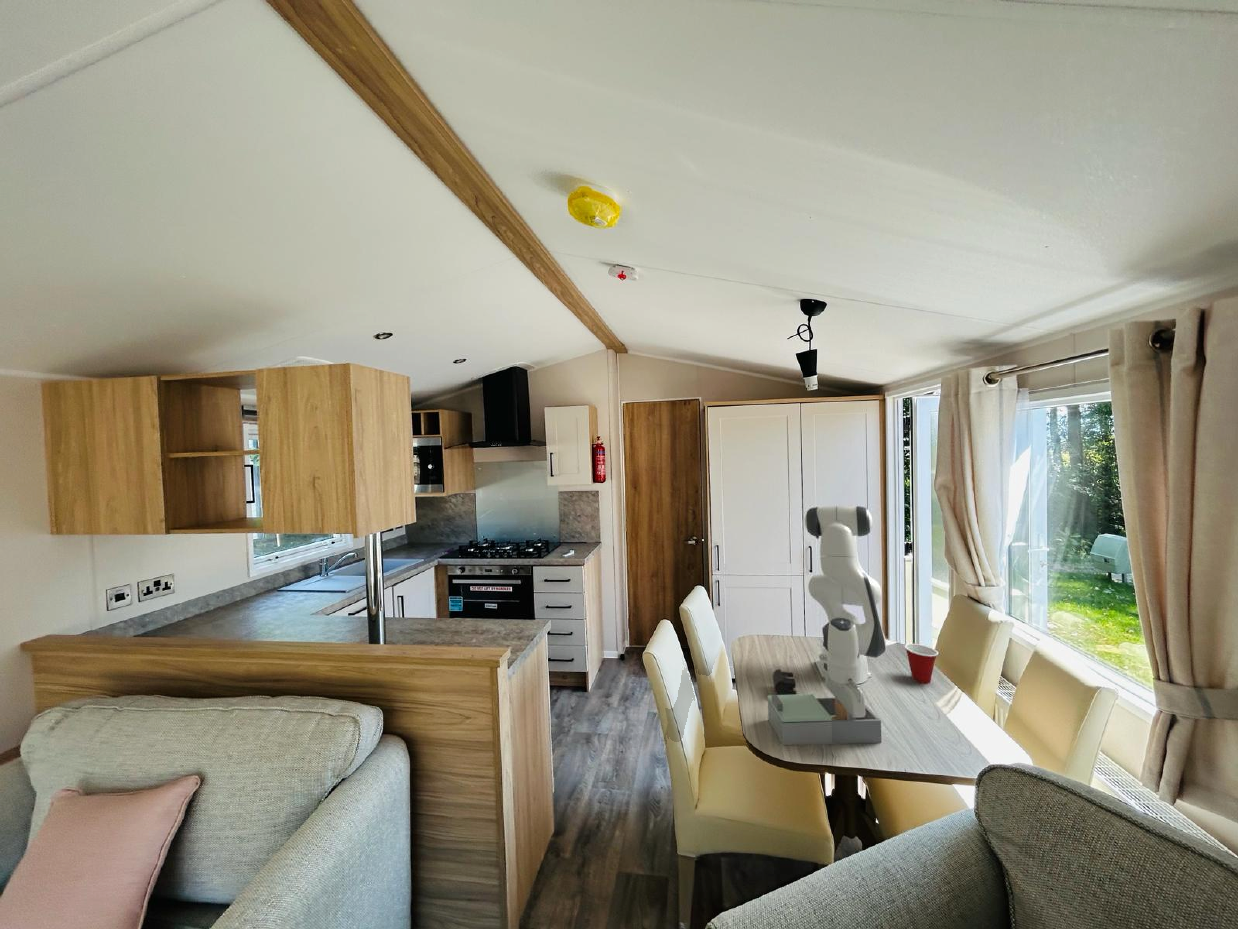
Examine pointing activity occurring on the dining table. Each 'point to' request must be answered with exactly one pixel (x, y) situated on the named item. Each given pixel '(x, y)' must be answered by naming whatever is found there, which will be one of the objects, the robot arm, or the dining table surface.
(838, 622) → the robot arm
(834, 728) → the box
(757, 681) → the dining table surface
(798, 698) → the lid
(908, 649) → the plastic cup
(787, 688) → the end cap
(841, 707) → the jaw block
